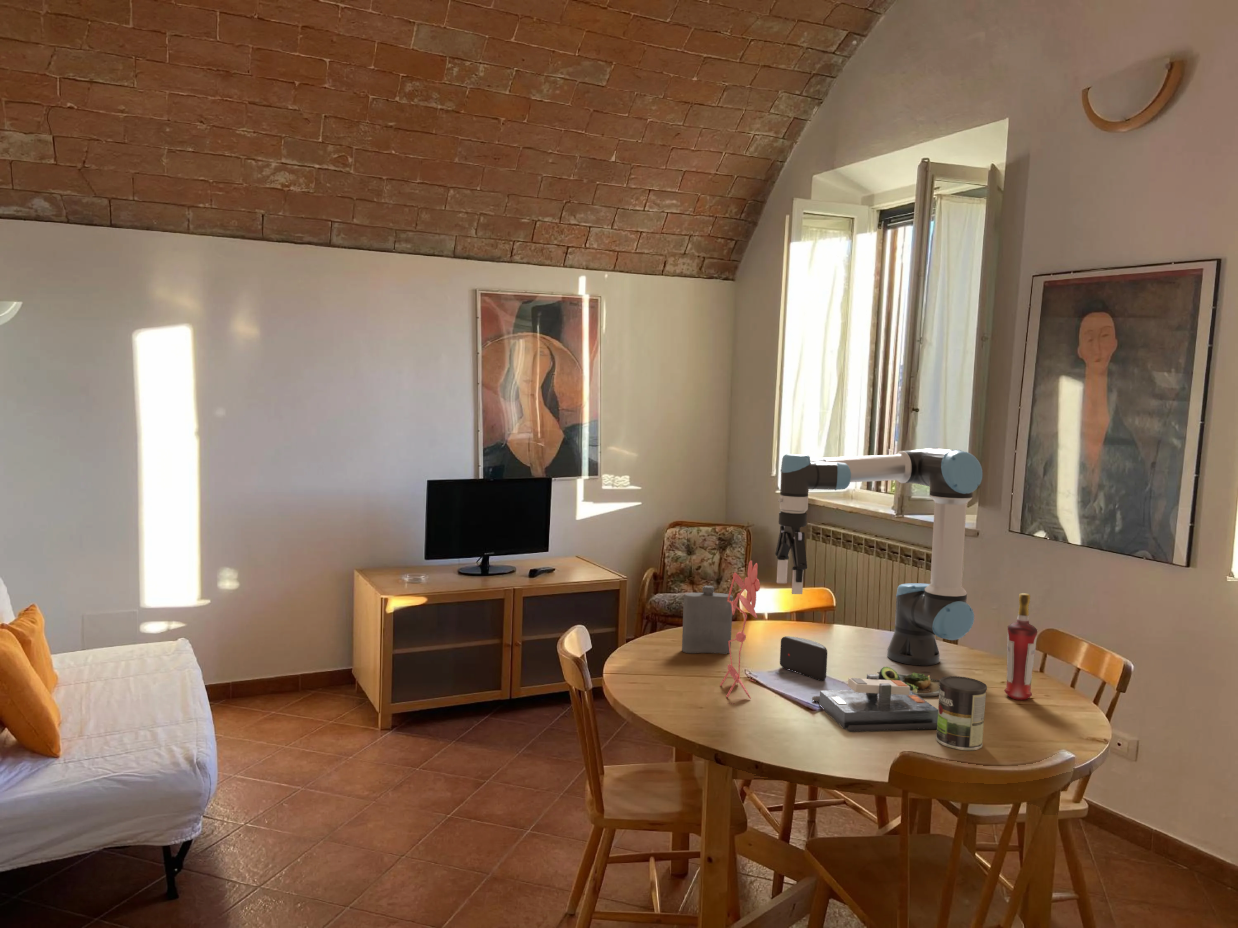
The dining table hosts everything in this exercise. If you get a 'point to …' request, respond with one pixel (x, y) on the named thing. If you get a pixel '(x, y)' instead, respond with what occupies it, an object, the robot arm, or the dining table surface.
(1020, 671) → the liquor
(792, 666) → the black rounded flat block
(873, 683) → the rocker
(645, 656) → the dining table surface
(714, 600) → the flask
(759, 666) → the dining table surface
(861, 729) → the rods
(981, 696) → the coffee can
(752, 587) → the figurine
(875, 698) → the lever switch plate
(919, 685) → the salad plate
